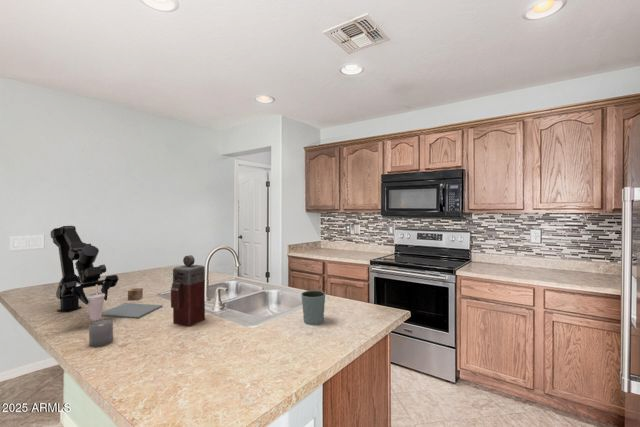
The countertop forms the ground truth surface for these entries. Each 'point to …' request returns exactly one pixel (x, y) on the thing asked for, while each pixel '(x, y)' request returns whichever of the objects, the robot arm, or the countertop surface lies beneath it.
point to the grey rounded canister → (100, 333)
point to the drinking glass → (313, 307)
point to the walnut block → (135, 294)
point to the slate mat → (131, 310)
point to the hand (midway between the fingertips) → (96, 301)
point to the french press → (188, 293)
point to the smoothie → (95, 304)
